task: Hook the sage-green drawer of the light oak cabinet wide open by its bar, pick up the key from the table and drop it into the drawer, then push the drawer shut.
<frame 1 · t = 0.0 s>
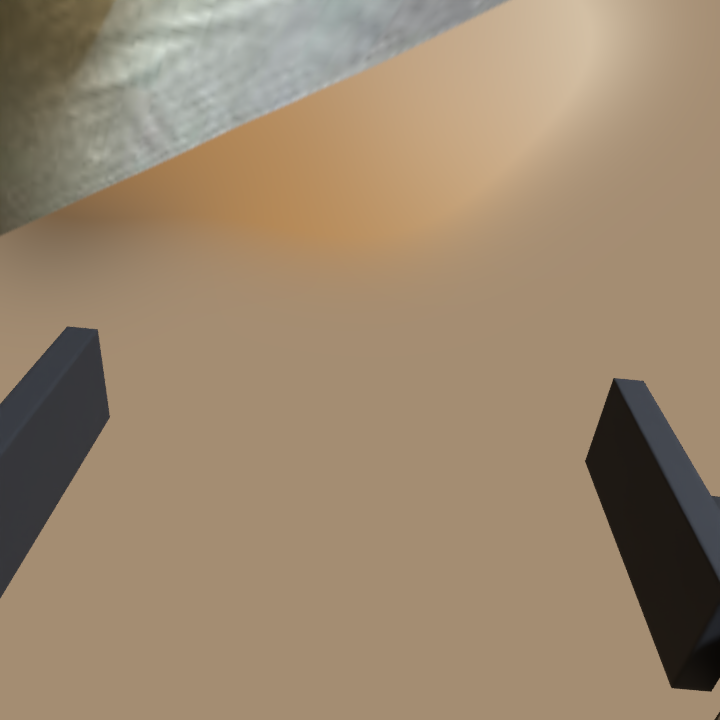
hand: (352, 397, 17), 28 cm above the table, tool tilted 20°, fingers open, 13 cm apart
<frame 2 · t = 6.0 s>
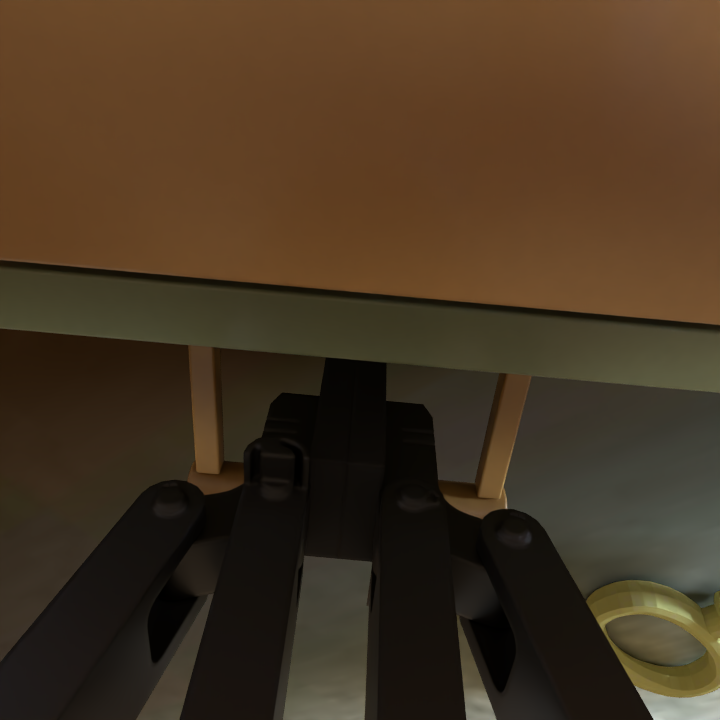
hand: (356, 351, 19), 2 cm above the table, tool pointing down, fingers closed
key: (717, 590, 27), on the table
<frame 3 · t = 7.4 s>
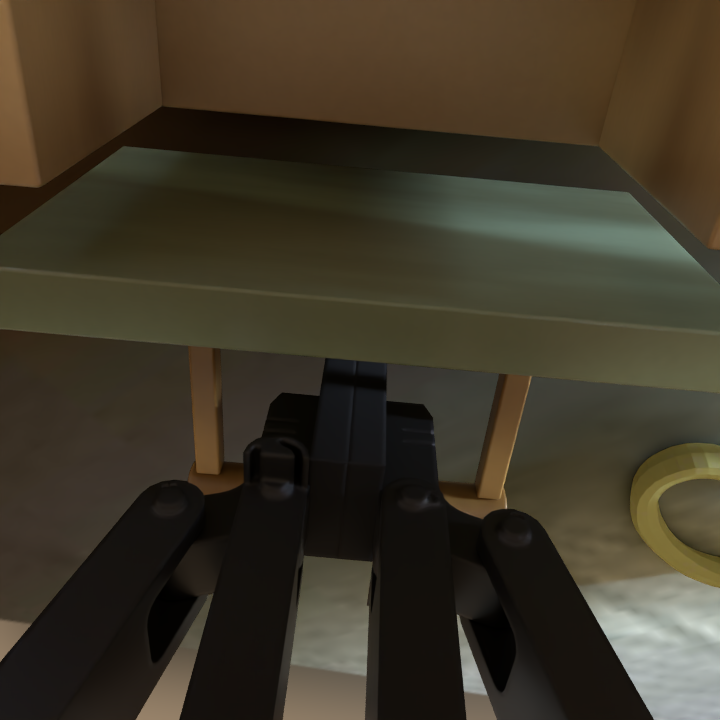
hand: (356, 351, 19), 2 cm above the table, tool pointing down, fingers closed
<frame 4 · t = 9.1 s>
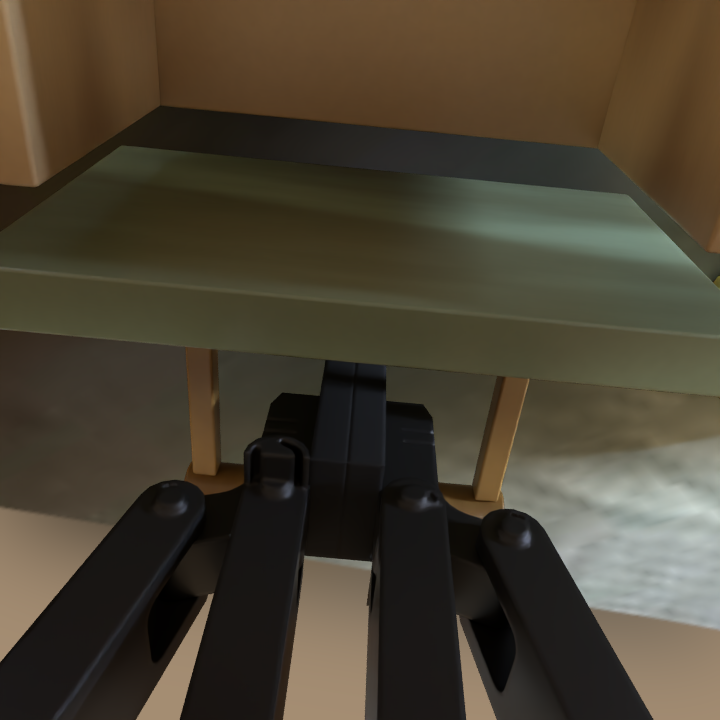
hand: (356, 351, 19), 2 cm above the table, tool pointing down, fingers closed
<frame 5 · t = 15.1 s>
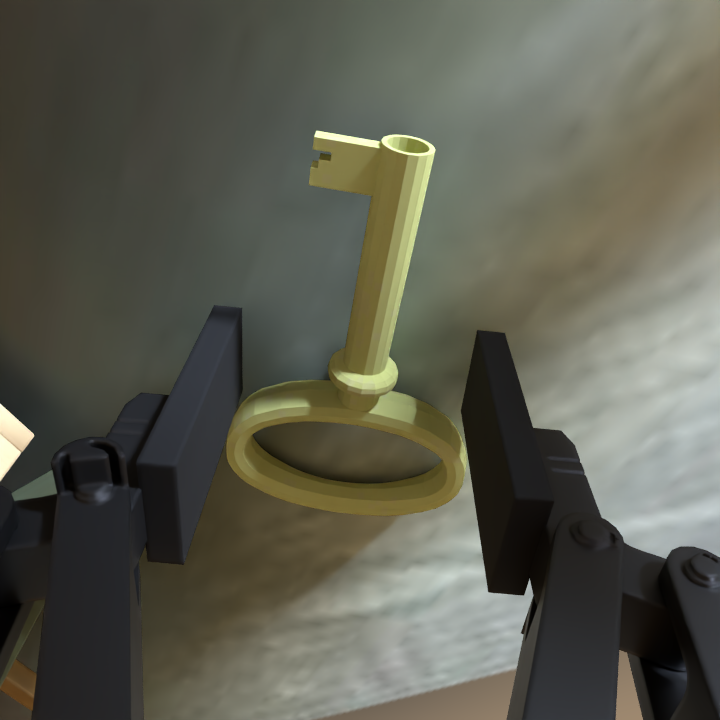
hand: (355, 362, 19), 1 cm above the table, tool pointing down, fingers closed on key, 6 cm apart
key: (361, 349, 19), on the table, touching gripper
when the fingers open (9 cm above the table, at t = 20.0 s): key drops 5 cm, resting on drawer.
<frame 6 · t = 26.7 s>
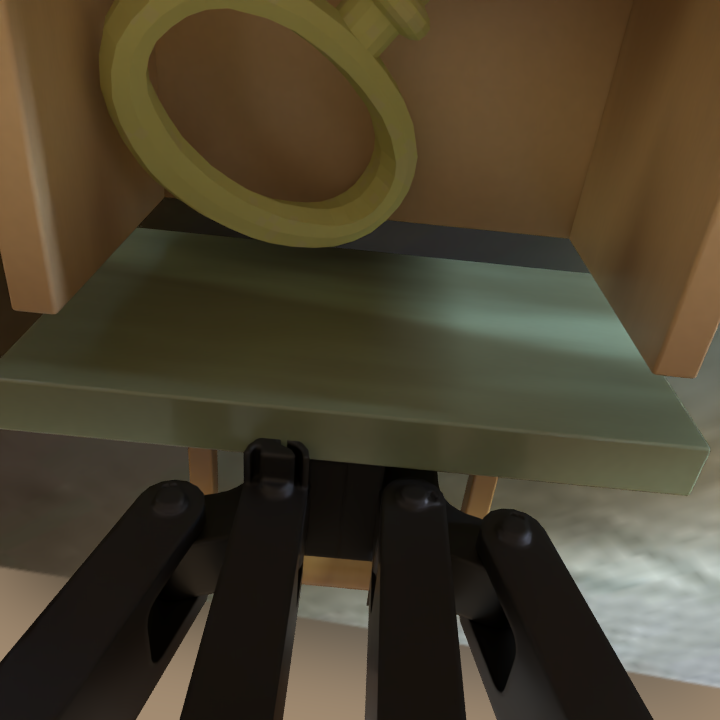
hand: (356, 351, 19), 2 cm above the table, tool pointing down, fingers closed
drawer: (380, 100, 13), point 5 cm above the table, slide at 13.1 cm, touching gripper, key
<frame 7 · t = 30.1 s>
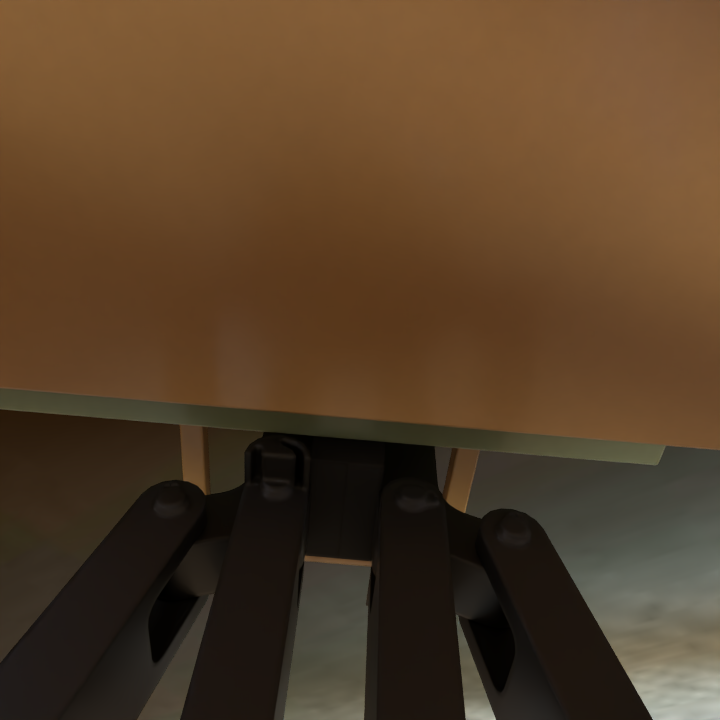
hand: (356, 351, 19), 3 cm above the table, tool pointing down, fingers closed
drawer: (360, 89, 13), point 5 cm above the table, slide at 0.0 cm, touching cabinet, gripper, key
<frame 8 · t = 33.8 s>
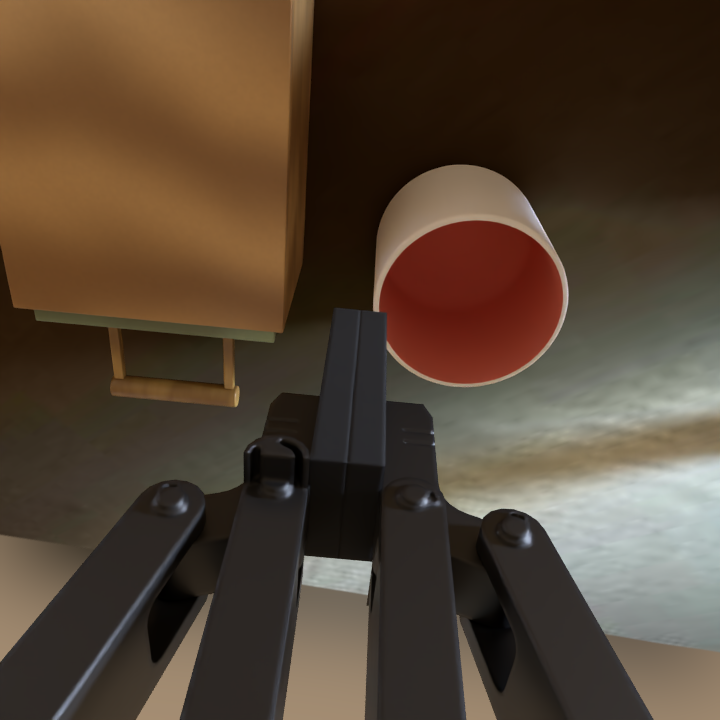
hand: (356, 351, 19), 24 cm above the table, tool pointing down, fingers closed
drawer: (167, 207, 38), point 5 cm above the table, slide at 0.0 cm, touching cabinet, key
cabinet: (185, 96, 39), on the table
cup: (454, 235, 43), on the table
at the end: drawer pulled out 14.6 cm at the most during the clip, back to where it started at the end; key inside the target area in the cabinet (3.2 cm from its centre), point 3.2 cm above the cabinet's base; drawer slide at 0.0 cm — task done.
